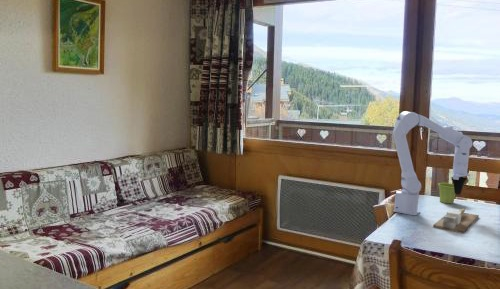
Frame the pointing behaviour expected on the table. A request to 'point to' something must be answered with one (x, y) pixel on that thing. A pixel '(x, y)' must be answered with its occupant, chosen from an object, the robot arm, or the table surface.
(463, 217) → the board
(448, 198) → the plant pot
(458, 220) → the sleeve
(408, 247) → the table surface
